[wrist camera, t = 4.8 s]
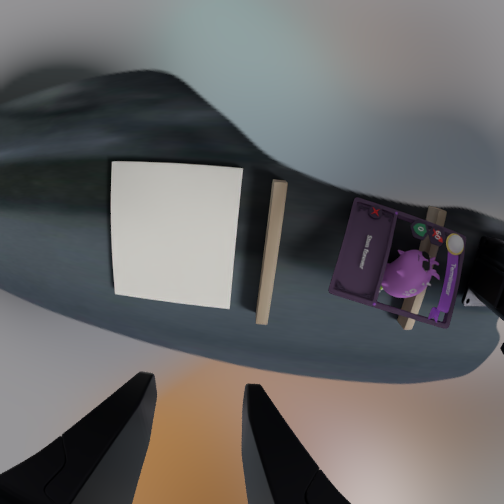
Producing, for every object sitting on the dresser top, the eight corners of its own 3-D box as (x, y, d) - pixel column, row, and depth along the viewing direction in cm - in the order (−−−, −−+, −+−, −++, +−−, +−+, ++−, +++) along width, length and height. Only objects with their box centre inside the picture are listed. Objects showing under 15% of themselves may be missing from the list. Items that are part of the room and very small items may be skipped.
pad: (243, 168, 19) (242, 168, 18) (229, 304, 22) (229, 308, 22) (115, 161, 19) (112, 161, 18) (118, 290, 22) (115, 293, 21)
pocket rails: (436, 207, 20) (446, 211, 18) (404, 320, 23) (411, 329, 22) (272, 179, 19) (274, 181, 18) (255, 313, 22) (256, 323, 21)
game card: (356, 192, 19) (471, 233, 16) (347, 217, 24) (442, 249, 21) (328, 291, 18) (452, 329, 15) (323, 296, 23) (424, 327, 20)
